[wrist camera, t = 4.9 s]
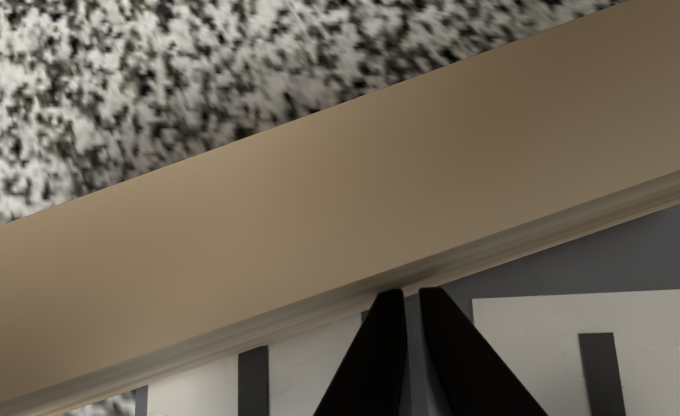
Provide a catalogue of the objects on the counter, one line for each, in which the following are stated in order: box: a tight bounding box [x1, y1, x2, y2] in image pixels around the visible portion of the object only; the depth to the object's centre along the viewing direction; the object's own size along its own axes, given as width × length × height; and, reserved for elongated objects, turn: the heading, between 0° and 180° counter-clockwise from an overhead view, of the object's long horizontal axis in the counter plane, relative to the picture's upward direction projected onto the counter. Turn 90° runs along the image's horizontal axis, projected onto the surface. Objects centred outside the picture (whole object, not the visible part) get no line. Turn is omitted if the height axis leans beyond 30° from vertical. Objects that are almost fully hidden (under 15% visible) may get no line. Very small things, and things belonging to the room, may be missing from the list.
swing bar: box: [0, 0, 680, 416], centre depth 11 cm, size 3×22×10 cm, turn 109°
